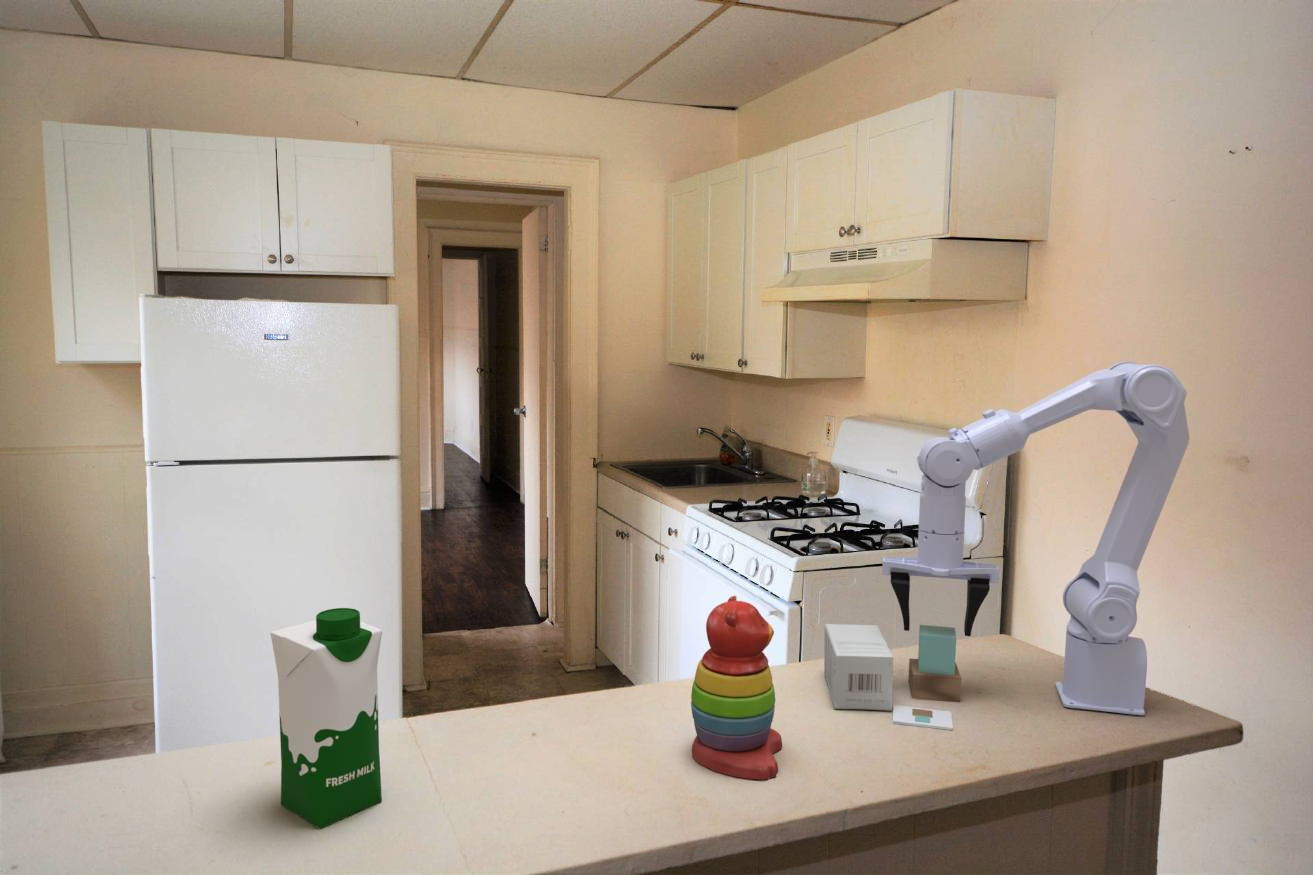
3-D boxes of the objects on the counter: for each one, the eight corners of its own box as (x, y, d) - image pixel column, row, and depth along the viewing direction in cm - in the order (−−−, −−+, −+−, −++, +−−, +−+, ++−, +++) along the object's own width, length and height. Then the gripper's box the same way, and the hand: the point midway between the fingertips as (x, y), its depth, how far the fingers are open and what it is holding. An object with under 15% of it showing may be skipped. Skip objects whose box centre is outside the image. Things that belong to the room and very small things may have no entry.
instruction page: (951, 713, 118) (951, 710, 118) (952, 730, 114) (952, 727, 113) (893, 707, 120) (893, 704, 120) (892, 723, 115) (892, 720, 115)
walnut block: (953, 686, 128) (955, 661, 128) (960, 703, 122) (961, 677, 122) (908, 683, 129) (909, 658, 129) (912, 700, 123) (913, 674, 123)
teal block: (952, 663, 127) (954, 627, 126) (954, 675, 122) (956, 638, 122) (918, 660, 128) (919, 624, 127) (918, 671, 124) (920, 634, 123)
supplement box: (892, 712, 118) (877, 674, 131) (894, 655, 118) (878, 623, 130) (833, 711, 119) (823, 673, 132) (834, 654, 118) (824, 622, 131)
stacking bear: (776, 782, 100) (781, 620, 98) (682, 772, 102) (685, 613, 100) (783, 739, 111) (788, 591, 108) (698, 730, 113) (700, 585, 110)
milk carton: (316, 836, 88) (309, 630, 86) (266, 804, 94) (259, 610, 92) (395, 801, 95) (391, 608, 93) (344, 773, 101) (339, 591, 98)
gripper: (883, 532, 121) (879, 635, 123) (1003, 540, 117) (997, 646, 119) (884, 521, 128) (881, 619, 129) (998, 528, 124) (992, 628, 126)
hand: (936, 631), depth 125 cm, fingers open, 7 cm apart
